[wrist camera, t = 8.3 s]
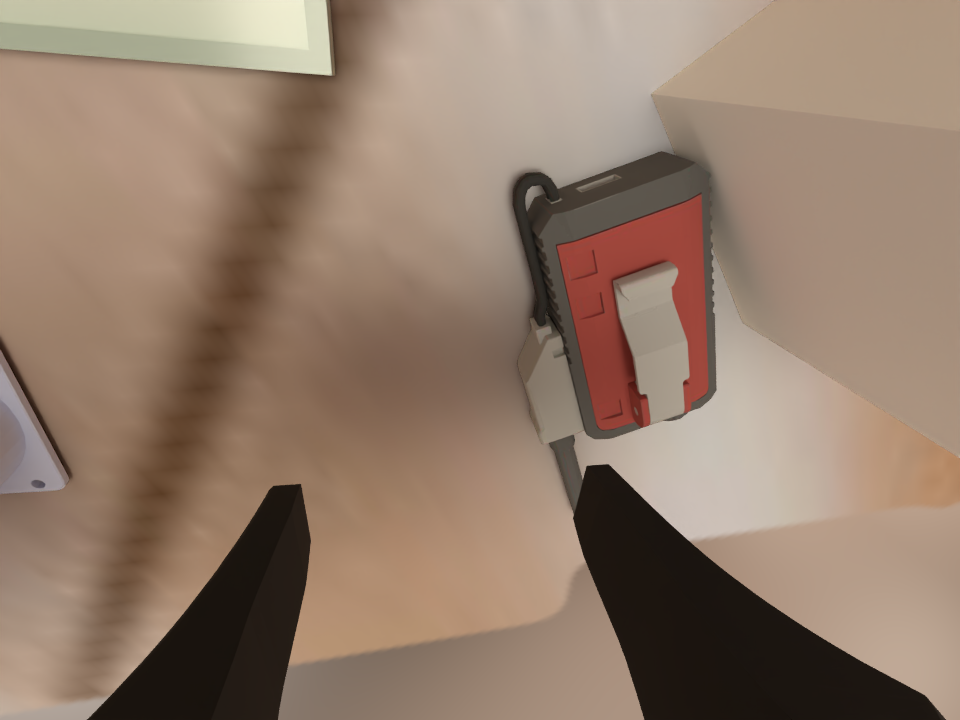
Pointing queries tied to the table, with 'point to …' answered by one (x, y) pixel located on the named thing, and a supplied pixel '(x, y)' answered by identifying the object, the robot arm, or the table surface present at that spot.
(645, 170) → the walkie-talkie
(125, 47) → the sage tile
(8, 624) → the table surface
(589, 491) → the robot arm
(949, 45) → the milk
